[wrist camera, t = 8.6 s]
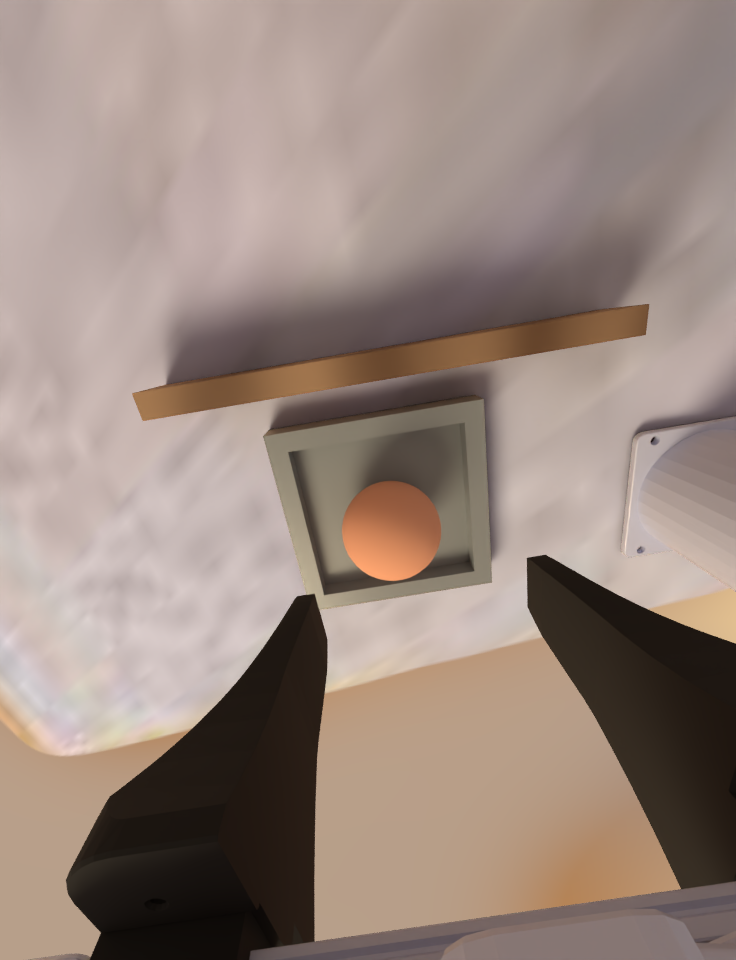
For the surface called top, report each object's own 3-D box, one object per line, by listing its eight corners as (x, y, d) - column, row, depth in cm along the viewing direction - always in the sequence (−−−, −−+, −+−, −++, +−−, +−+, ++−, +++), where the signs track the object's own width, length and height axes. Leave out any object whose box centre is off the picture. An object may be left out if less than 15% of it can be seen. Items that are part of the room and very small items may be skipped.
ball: (425, 460, 20) (448, 497, 15) (433, 539, 22) (456, 593, 17) (335, 475, 20) (330, 517, 15) (351, 552, 22) (351, 610, 17)
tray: (474, 394, 19) (483, 399, 18) (484, 568, 23) (491, 582, 22) (269, 429, 19) (263, 436, 18) (313, 596, 23) (311, 611, 22)
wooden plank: (602, 309, 18) (648, 304, 15) (601, 335, 18) (645, 334, 16) (165, 384, 18) (131, 393, 16) (173, 408, 19) (142, 421, 16)
